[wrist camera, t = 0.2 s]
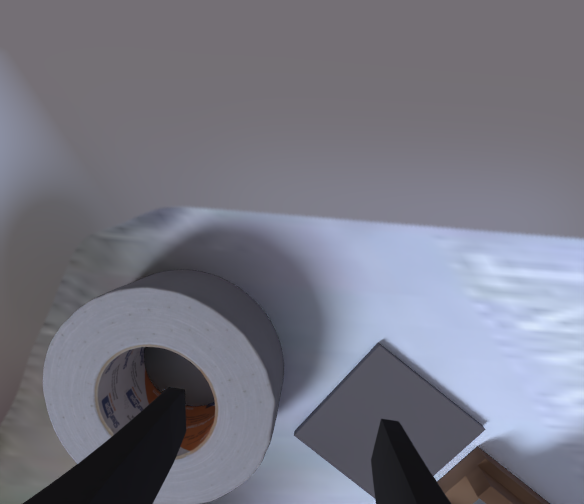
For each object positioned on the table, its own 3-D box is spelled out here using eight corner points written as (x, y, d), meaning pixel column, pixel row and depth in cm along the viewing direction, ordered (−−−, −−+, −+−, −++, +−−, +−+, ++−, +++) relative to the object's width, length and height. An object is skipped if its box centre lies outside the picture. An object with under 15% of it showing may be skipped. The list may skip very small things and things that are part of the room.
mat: (391, 506, 22) (392, 512, 21) (294, 431, 22) (294, 435, 21) (482, 425, 20) (485, 429, 20) (378, 342, 20) (379, 345, 20)
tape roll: (315, 316, 20) (314, 350, 15) (244, 473, 23) (224, 545, 18) (131, 238, 21) (72, 246, 16) (82, 400, 23) (18, 451, 18)
